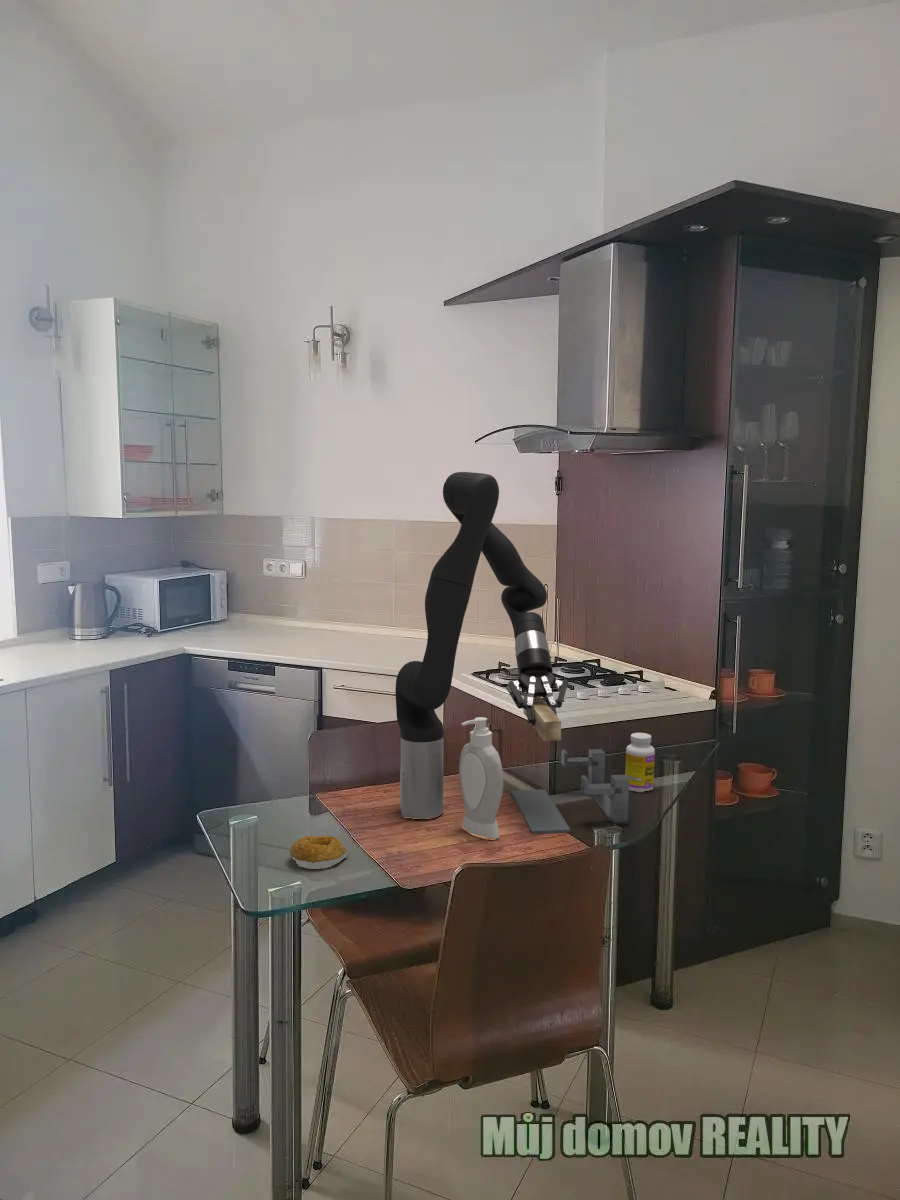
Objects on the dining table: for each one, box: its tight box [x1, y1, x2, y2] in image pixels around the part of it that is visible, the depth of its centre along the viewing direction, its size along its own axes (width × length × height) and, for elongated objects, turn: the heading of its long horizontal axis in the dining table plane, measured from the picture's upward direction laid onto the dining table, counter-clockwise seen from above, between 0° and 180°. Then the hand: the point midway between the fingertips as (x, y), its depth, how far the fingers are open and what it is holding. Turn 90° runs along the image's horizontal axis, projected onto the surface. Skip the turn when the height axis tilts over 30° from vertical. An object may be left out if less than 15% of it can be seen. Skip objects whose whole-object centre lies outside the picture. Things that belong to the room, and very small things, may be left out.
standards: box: [560, 748, 630, 825], centre depth 202 cm, size 10×21×10 cm, turn 6°
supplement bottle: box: [624, 732, 656, 793], centre depth 214 cm, size 7×7×13 cm
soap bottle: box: [458, 716, 504, 839], centre depth 186 cm, size 13×8×24 cm, turn 41°
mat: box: [510, 788, 571, 835], centre depth 201 cm, size 8×24×1 cm, turn 6°
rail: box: [522, 694, 562, 742], centre depth 197 cm, size 4×22×4 cm, turn 6°
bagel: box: [289, 835, 348, 863], centre depth 176 cm, size 10×11×5 cm
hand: (543, 723), depth 195 cm, fingers closed on rail, 3 cm apart
